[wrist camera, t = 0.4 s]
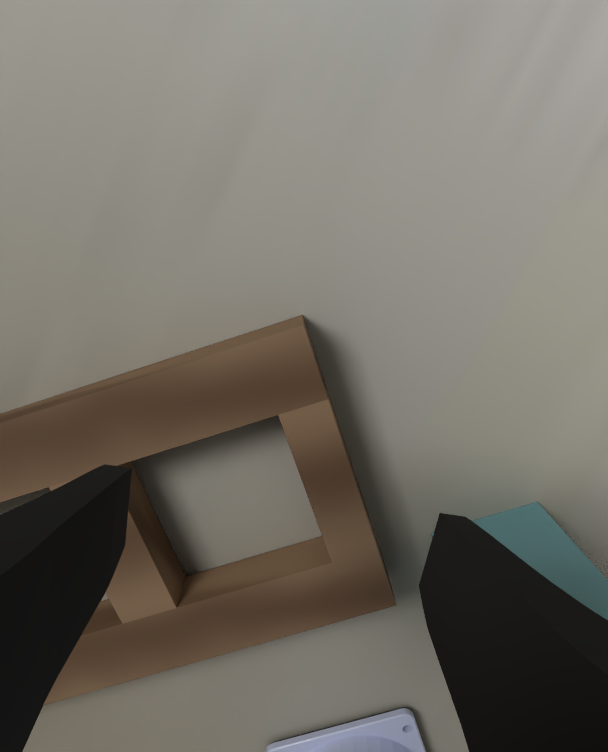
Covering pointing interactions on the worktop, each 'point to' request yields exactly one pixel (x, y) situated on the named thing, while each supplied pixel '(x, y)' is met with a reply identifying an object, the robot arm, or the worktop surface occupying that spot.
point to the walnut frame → (146, 535)
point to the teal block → (549, 553)
